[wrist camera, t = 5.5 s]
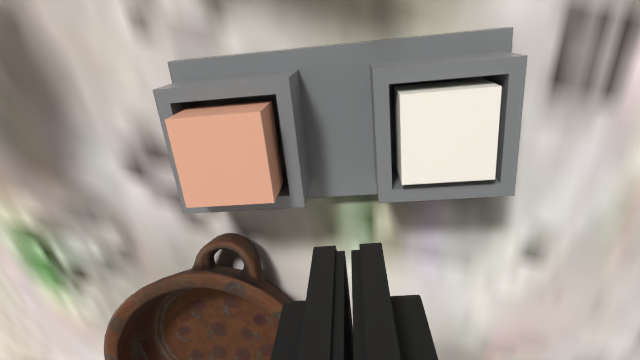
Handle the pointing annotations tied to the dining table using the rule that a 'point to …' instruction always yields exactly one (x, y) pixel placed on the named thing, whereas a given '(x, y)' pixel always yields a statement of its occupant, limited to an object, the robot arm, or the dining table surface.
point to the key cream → (447, 131)
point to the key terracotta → (226, 154)
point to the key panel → (352, 110)
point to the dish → (201, 312)
